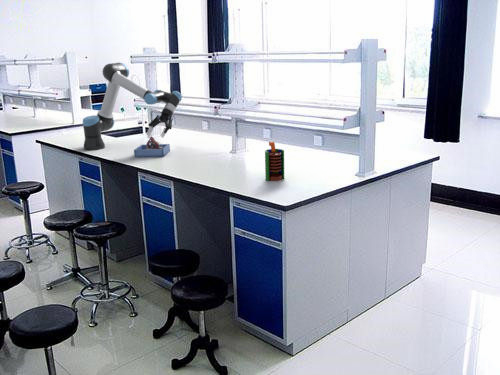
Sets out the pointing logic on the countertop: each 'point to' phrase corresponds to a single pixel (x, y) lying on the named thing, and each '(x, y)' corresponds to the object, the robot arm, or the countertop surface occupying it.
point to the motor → (274, 163)
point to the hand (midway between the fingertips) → (154, 135)
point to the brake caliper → (153, 144)
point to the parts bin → (152, 151)
